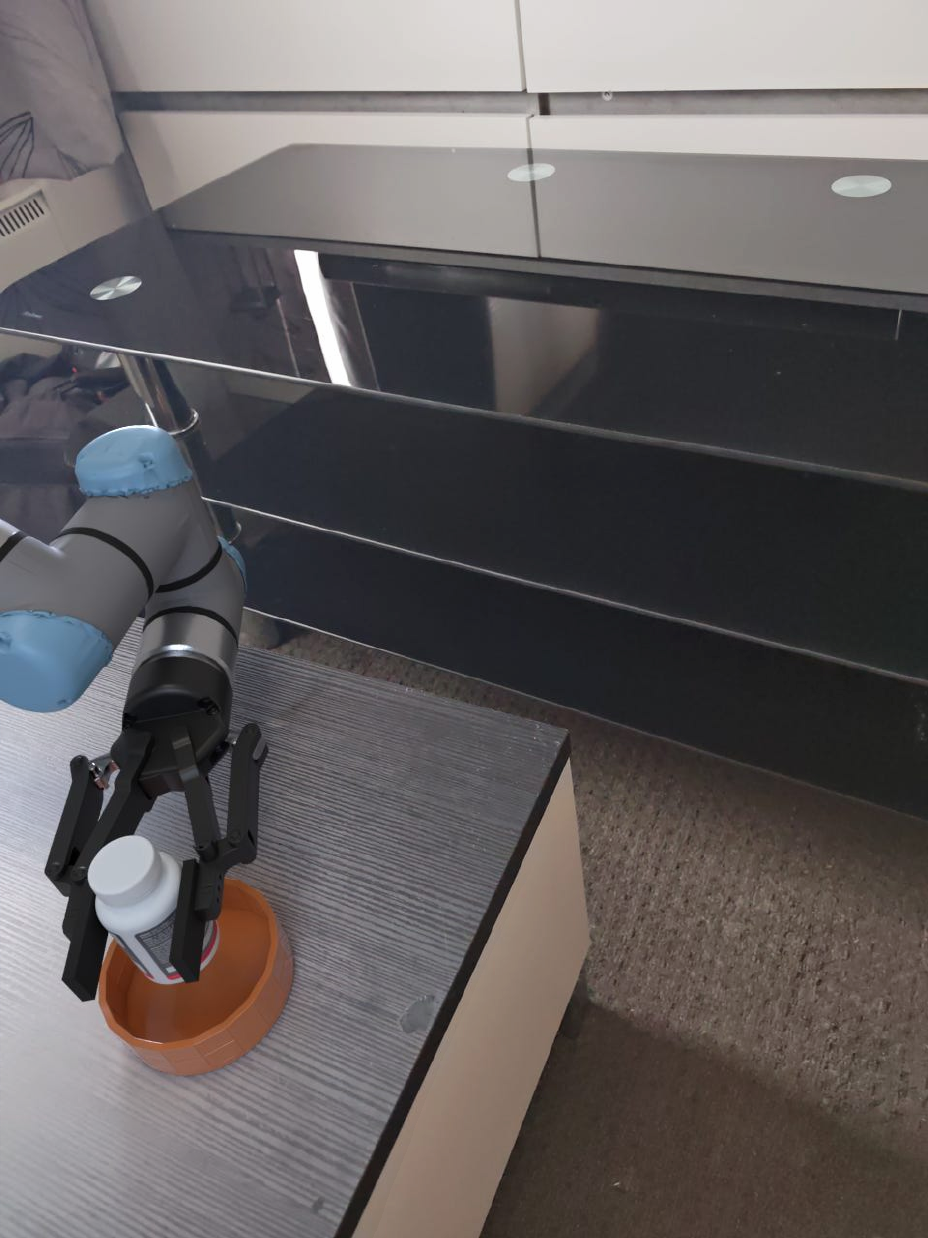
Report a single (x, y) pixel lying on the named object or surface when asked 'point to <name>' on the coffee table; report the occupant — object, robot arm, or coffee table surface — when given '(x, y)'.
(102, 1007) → the orange round bowl
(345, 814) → the coffee table surface
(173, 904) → the pill bottle
